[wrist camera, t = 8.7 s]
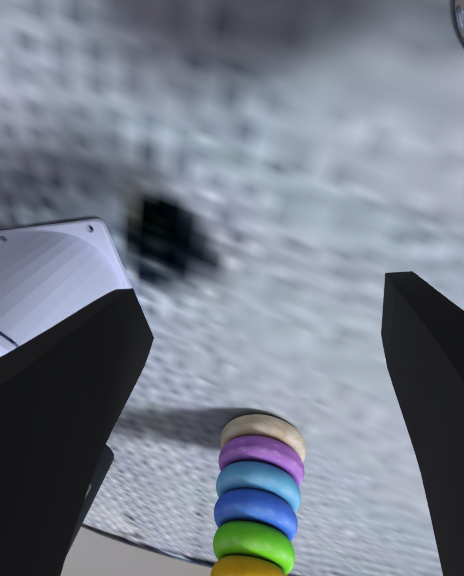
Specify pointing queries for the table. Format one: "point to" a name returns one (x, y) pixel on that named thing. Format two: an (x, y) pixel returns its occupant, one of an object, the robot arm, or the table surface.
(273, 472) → the stacking toy
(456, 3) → the wine glass
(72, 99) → the table surface
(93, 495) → the wine bottle
